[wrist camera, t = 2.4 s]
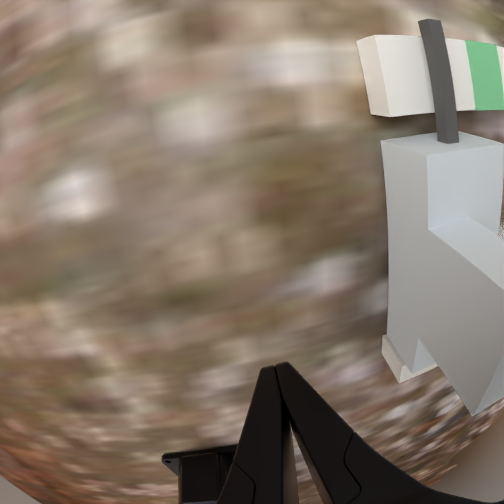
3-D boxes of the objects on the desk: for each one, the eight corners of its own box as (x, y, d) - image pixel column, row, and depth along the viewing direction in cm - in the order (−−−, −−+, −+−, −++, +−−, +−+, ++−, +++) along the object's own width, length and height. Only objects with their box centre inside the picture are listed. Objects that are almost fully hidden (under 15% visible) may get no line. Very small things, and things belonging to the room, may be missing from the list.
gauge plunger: (445, 310, 15) (520, 403, 9) (386, 334, 15) (454, 446, 9) (439, 30, 9) (589, 24, 2) (358, 26, 9) (519, -19, 2)
